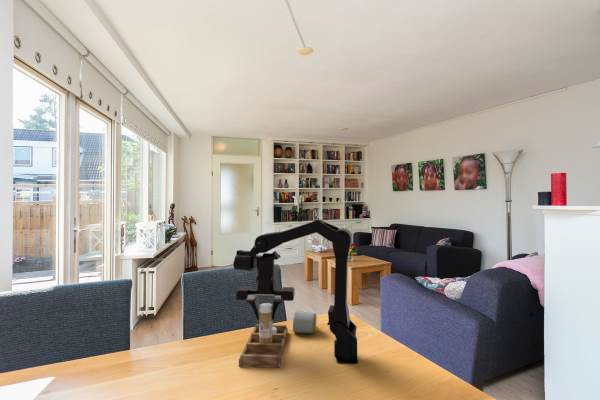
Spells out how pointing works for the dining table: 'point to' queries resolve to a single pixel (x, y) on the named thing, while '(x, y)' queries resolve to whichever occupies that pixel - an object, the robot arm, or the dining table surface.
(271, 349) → the rack
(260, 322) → the sprinkles bottle
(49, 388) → the dining table surface
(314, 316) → the ceramic mug
